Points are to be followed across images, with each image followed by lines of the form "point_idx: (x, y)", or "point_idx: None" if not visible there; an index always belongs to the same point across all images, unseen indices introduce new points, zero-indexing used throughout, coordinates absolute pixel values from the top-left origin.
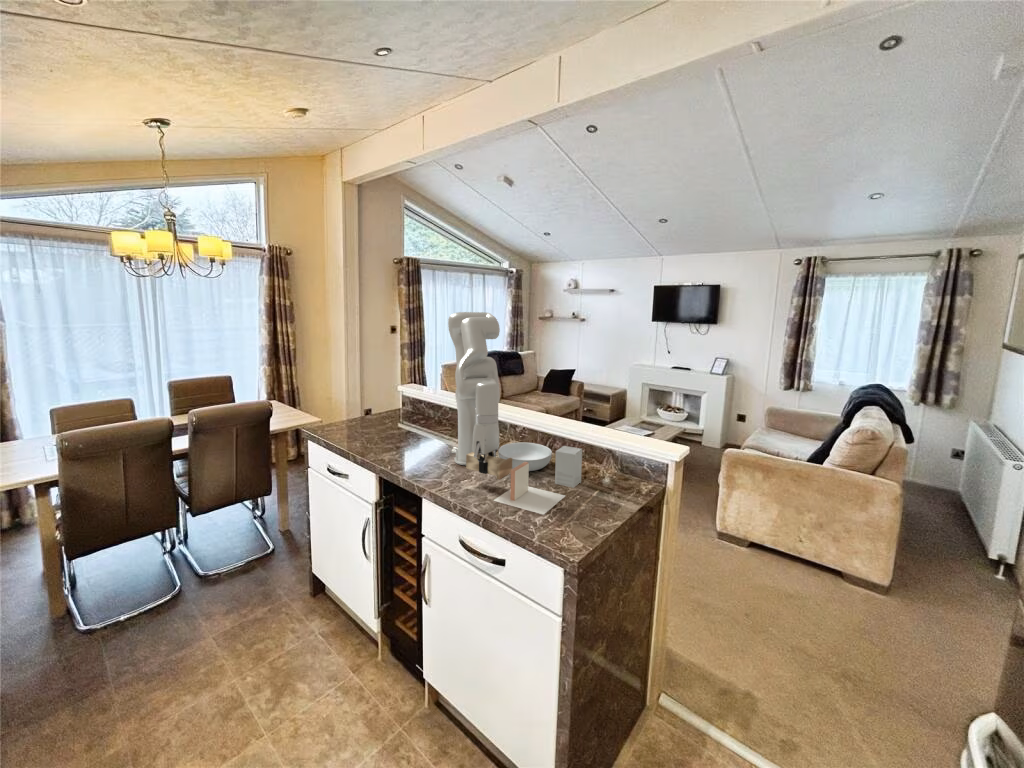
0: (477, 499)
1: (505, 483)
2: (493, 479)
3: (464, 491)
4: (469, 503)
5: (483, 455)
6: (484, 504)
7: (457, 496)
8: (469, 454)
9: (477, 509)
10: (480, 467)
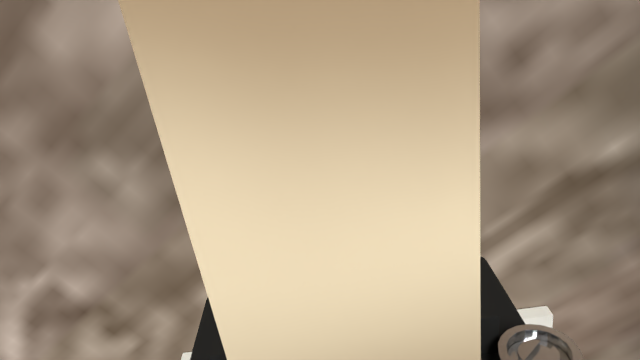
0: (123, 253)
1: (529, 212)
2: (557, 68)
3: (135, 59)
4: (27, 256)
5: (411, 357)
6: (112, 334)
7: (12, 92)
8: (206, 62)
9: (23, 349)
10: (201, 338)
